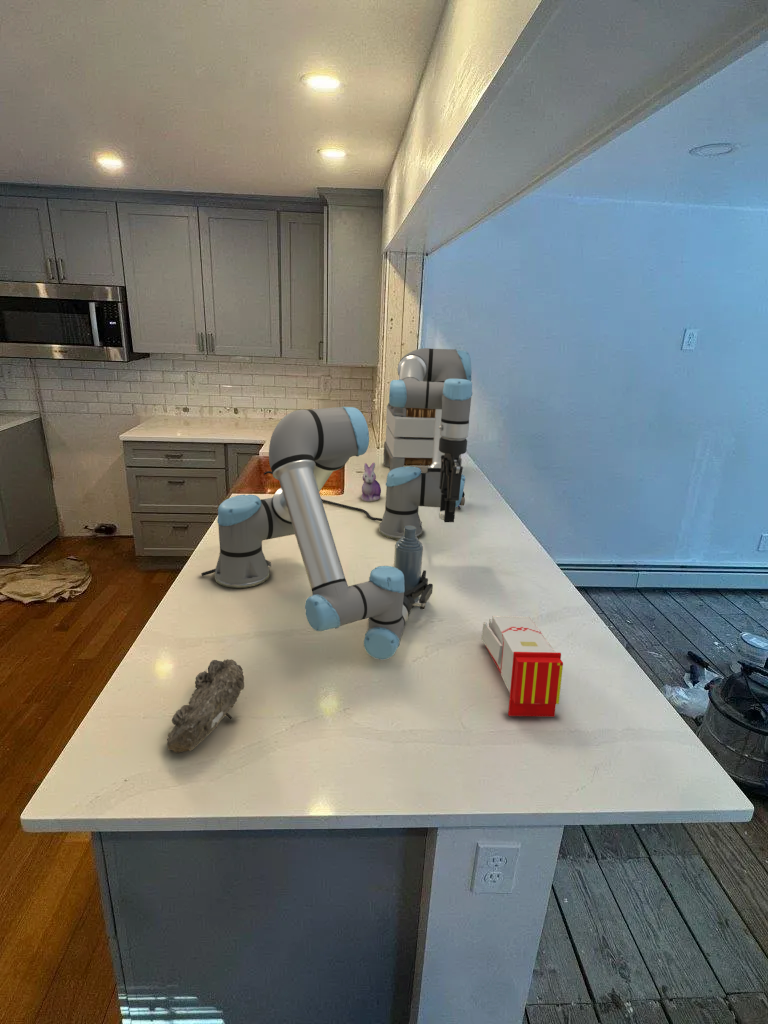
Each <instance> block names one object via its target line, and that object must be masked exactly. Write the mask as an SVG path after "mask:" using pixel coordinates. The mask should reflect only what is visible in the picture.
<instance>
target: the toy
mask: <svg viewBox="0 0 768 1024" xmlns="http://www.w3.org/2000/svg"><path fill="white" fill-rule="evenodd" d="M481 632H482V633H481V640H482V642H483V644H484V646H485V648H486V650H487V652H488V654H489V655H490V657H491V659H492V661H493V663H494V664H495V666H496V668H497V670H498V671H499V674H500V676H501V678H502V680H503V682H504V684H505V687H506V688H507V690H508V692H509V700H508V702H509V703H508V710H507V711H508V712H507V715H508V717H551V718H552V717H553V718H555V716H556V707H557V705H559V704H560V698H561V697H560V695H561V688H562V687H561V686H562V678H563V669H564V662H563V661H562V653H561V652H556V651H555V649H554V648H553V647H552V645H551V644H550V643H549V641H548V639H547V638H546V637H545V635H544V634H543V633H542V631H541V630H540V629H539V628H538V626H537V624H536V622H535V621H534V620H533V619H532V617H531V616H514V615H513V616H512V615H511V616H508V615H507V616H506V615H505V616H504V615H492V618H489V620H488V623H487V621H483V623H482V631H481Z"/></svg>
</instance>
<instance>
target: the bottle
mask: <svg viewBox="0 0 768 1024" xmlns="http://www.w3.org/2000/svg"><path fill="white" fill-rule="evenodd" d="M415 534H416V527H414V526H405V527H404V535H403V536H402V537H401V538H400V539H399V540H396V542H395V544H394V557H393V559H394V560H393V567H395V568H397V569H399V570H400V571H402V573H403V575H404V586H405V591H404V592H406V591H408V590H411V589H413V588H414V587H416V586H417V585H419V583H420V578H421V576H422V566H423V551H424V546H423V543H422V542H421V540H420V539H419V537H418V538H417V536H415ZM419 597H420V596H419ZM419 597H417V598H416V599H415V601H417V600H418V599H419Z"/></svg>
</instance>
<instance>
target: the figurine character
mask: <svg viewBox="0 0 768 1024" xmlns="http://www.w3.org/2000/svg"><path fill="white" fill-rule="evenodd" d="M465 503H466V498H465V491H464V490H463V495H462V499H461V502H460V504H459V506H458V507H457V508H458V510H462V509H461V507H464V506H465V505H466V504H465Z"/></svg>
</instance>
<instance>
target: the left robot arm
mask: <svg viewBox="0 0 768 1024" xmlns="http://www.w3.org/2000/svg"><path fill="white" fill-rule="evenodd" d="M369 431H370V430H369V427H368V422H367V420H366V418H365V416H364V414H363V413H362V411H361V410H359V409H358V408H357V407H355V406H338V407H337V406H336V407H326V408H313V409H309V408H308V409H304V408H303V409H296V410H293V411H291V412H289V413H287V414H286V415H285V416H284V417H282V418H281V419H280V420H279V422H278V423H277V424H276V425H275V428H274V430H273V431H272V434H271V437H270V440H269V446H268V462H269V467H270V471H271V472H272V474H271V475H272V477H273V478H274V479H276V480H277V481H279V484H280V488H278V489H277V490H276V491H275V493H274V494H273V496H272V497H267V498H260V497H259V496H258V495H255V494H237V495H234V496H231V497H229V498H226V499H224V500H223V501H222V502H221V503H220V504H219V505H218V508H217V518H216V519H217V520H216V521H217V525H218V540H219V554H218V555H219V556H218V558H217V562H216V565H215V568H213V569H210V570H207V571H204V572H201V576H202V577H204V576H207V575H211V574H213V573H214V580H215V582H216V583H217V584H218V585H220V586H222V587H225V588H230V589H247V588H252V587H256V586H259V585H262V584H264V583H265V582H266V581H267V580H268V579H269V577H270V568H272V561H270V560H267V559H266V557H265V554H264V552H263V542H264V541H267V540H271V539H278V538H282V537H289V536H293V535H295V538H296V542H297V546H298V549H299V553H300V555H301V558H302V559H301V560H302V563H303V565H304V566H303V567H304V569H305V573H306V577H307V579H308V580H307V581H308V583H309V586H310V589H311V593H312V594H311V595H310V596H308V597H307V598H306V599H305V602H304V610H305V618H306V621H307V623H308V625H309V626H310V627H311V629H313V630H314V631H316V632H325V631H329V630H332V629H339V628H341V627H343V626H345V625H349V624H353V623H356V622H359V621H363V620H366V619H368V623H367V630H366V632H365V634H364V638H363V647H364V650H365V651H366V653H367V654H368V655H369V656H370V657H371V658H373V659H376V660H382V661H384V660H388V659H390V658H392V657H393V656H394V655H395V654H396V652H397V650H398V649H399V647H400V646H401V645H400V643H401V640H402V636H403V633H404V631H405V628H406V626H407V623H408V620H409V617H410V614H411V612H412V609H414V608H416V607H419V609H420V610H426V604H427V602H428V601H429V600H430V597H431V596H432V595H433V586H434V585H433V583H429V578H428V577H426V576H427V570H426V569H425V570H424V569H423V570H422V572H421V578H420V583H419V585H417V586H416V587H414V588H413V589H411V590H408V591H406V592H404V591H405V586H404V575H403V573H402V571H400V570H399V569H397V568H395V567H394V566H390V565H379V566H376V567H375V568H372V569H371V571H370V573H369V577H368V581H364V582H360V583H356V584H352V585H349V584H348V582H347V579H346V575H345V573H344V569H343V566H342V563H341V560H340V556H339V553H338V549H337V546H336V542H335V540H334V536H333V533H332V530H331V527H330V523H329V520H328V517H327V513H326V511H325V507H324V502H322V500H321V499H322V497H321V494H320V492H321V491H322V489H323V487H324V486H325V484H326V483H327V481H328V479H330V477H331V476H332V474H333V472H336V471H339V470H341V469H342V468H343V467H344V466H345V465H347V462H348V461H349V460H350V459H351V458H352V457H360V456H362V455H365V454H366V453H367V451H368V449H369V445H370V432H369ZM417 597H419V599H418V600H417V601H415V599H416V598H417Z"/></svg>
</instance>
